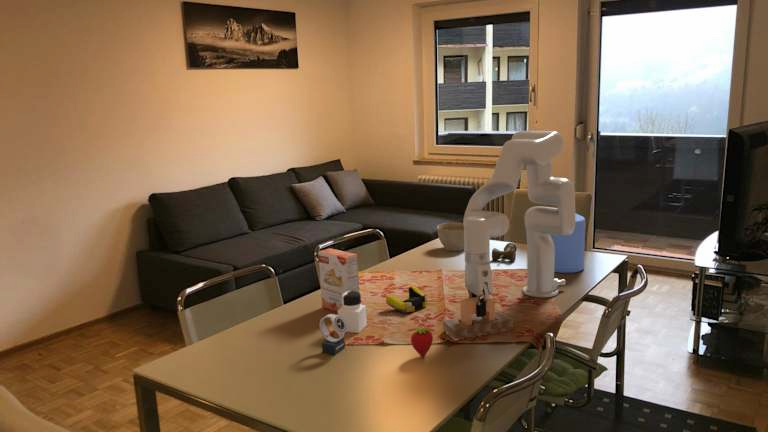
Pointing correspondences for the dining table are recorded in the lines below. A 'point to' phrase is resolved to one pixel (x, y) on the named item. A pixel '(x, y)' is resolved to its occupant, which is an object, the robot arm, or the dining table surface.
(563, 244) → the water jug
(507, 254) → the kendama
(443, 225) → the planter bowl
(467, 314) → the peach block
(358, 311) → the medicine bottle
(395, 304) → the gaming controller
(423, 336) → the strawberry
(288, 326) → the dining table surface
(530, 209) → the robot arm
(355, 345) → the dining table surface
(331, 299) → the cracker box
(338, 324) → the watch
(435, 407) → the dining table surface
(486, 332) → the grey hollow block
